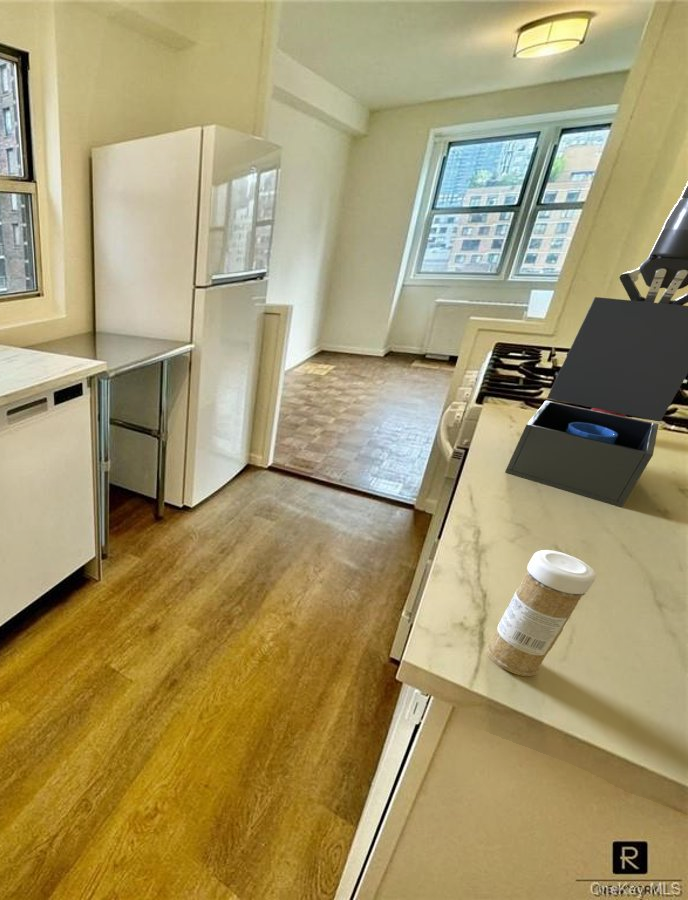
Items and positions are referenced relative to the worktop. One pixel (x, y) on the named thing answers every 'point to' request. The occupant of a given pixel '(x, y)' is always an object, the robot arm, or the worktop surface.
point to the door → (626, 358)
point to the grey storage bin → (583, 453)
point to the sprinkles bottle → (539, 611)
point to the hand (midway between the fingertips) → (642, 328)
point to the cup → (592, 431)
